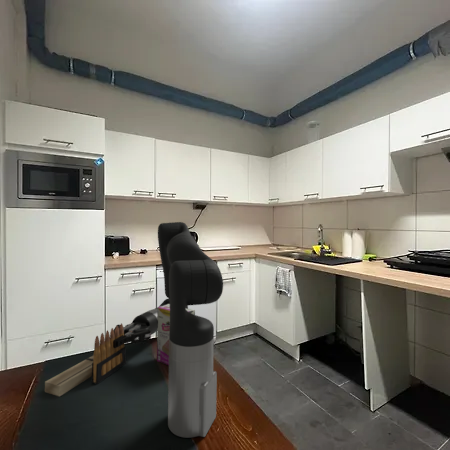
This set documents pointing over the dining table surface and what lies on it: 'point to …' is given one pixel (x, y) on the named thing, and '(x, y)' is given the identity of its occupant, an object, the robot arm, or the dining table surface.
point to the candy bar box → (164, 333)
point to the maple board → (70, 378)
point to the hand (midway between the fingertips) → (111, 343)
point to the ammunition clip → (107, 355)
